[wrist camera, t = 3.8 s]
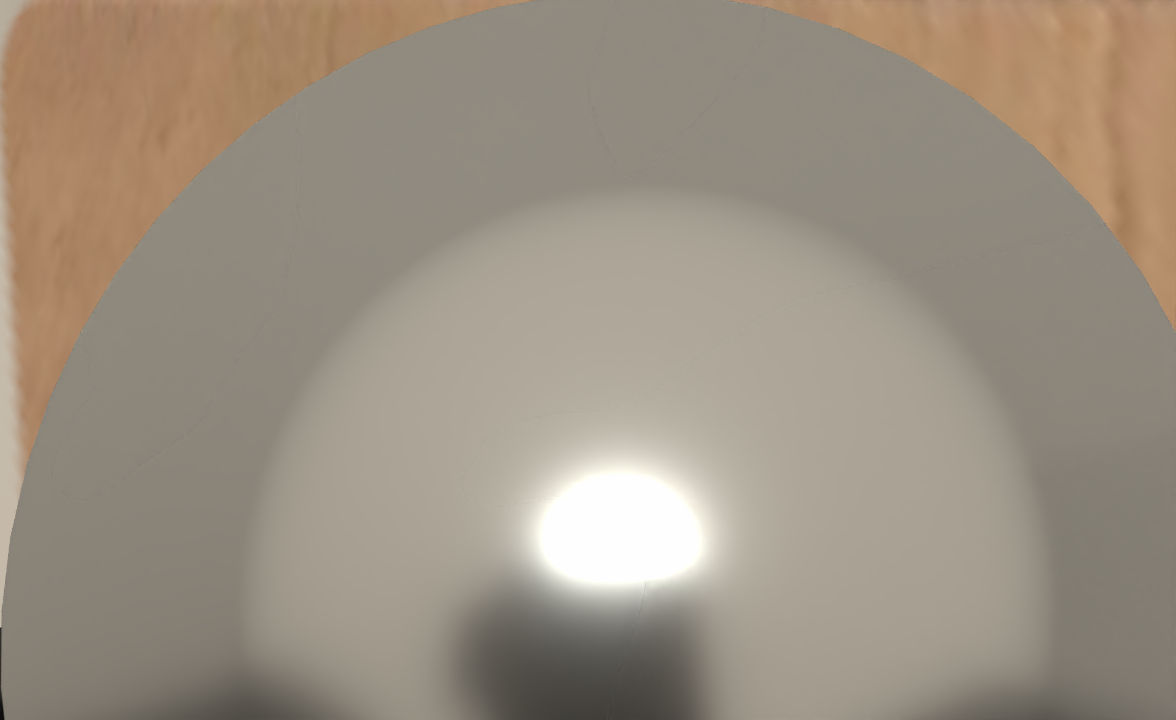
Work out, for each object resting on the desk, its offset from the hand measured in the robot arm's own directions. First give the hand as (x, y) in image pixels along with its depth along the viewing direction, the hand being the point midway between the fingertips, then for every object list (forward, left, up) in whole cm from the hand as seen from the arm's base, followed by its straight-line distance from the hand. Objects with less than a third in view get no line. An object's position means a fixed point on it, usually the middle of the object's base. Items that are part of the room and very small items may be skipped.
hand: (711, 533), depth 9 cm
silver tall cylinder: (-1, 0, -8) cm, 8 cm away
